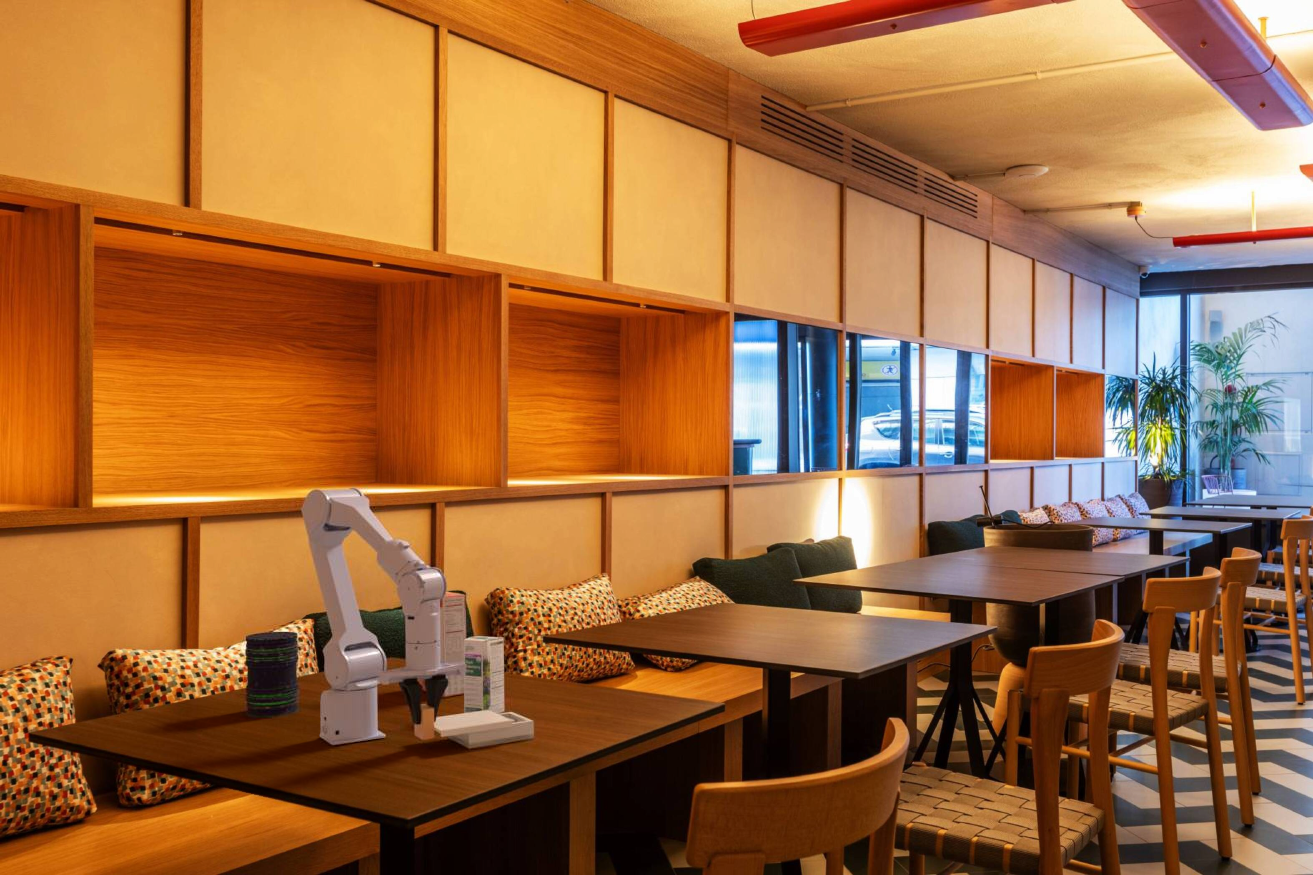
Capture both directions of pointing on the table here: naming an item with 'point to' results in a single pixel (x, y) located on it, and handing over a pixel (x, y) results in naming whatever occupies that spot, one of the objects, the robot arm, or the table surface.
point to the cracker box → (452, 639)
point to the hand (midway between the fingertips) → (424, 722)
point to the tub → (498, 733)
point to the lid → (457, 723)
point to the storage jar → (271, 674)
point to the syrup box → (484, 674)
